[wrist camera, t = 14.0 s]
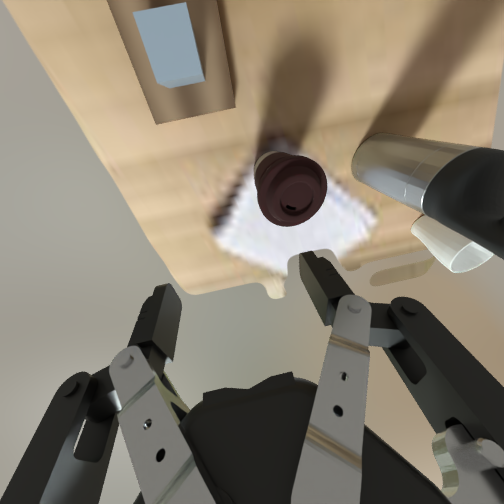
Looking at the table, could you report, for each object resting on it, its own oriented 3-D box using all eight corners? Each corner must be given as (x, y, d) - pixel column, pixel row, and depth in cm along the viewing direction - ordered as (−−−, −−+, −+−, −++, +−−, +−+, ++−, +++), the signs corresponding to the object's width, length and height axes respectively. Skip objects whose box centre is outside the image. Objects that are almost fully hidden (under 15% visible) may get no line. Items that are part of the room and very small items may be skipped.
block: (192, 27, 24) (185, 2, 18) (205, 81, 27) (202, 74, 21) (152, 34, 24) (132, 12, 18) (169, 88, 27) (157, 82, 21)
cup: (416, 245, 57) (463, 277, 46) (394, 233, 53) (440, 266, 42) (450, 214, 52) (511, 242, 41) (428, 199, 48) (490, 226, 37)
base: (212, -12, 24) (212, -26, 22) (234, 107, 31) (235, 107, 29) (116, 7, 24) (105, -4, 21) (160, 123, 31) (156, 124, 29)
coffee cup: (279, 129, 34) (314, 140, 22) (304, 175, 39) (343, 204, 28) (235, 166, 37) (246, 195, 25) (264, 205, 42) (284, 243, 30)
